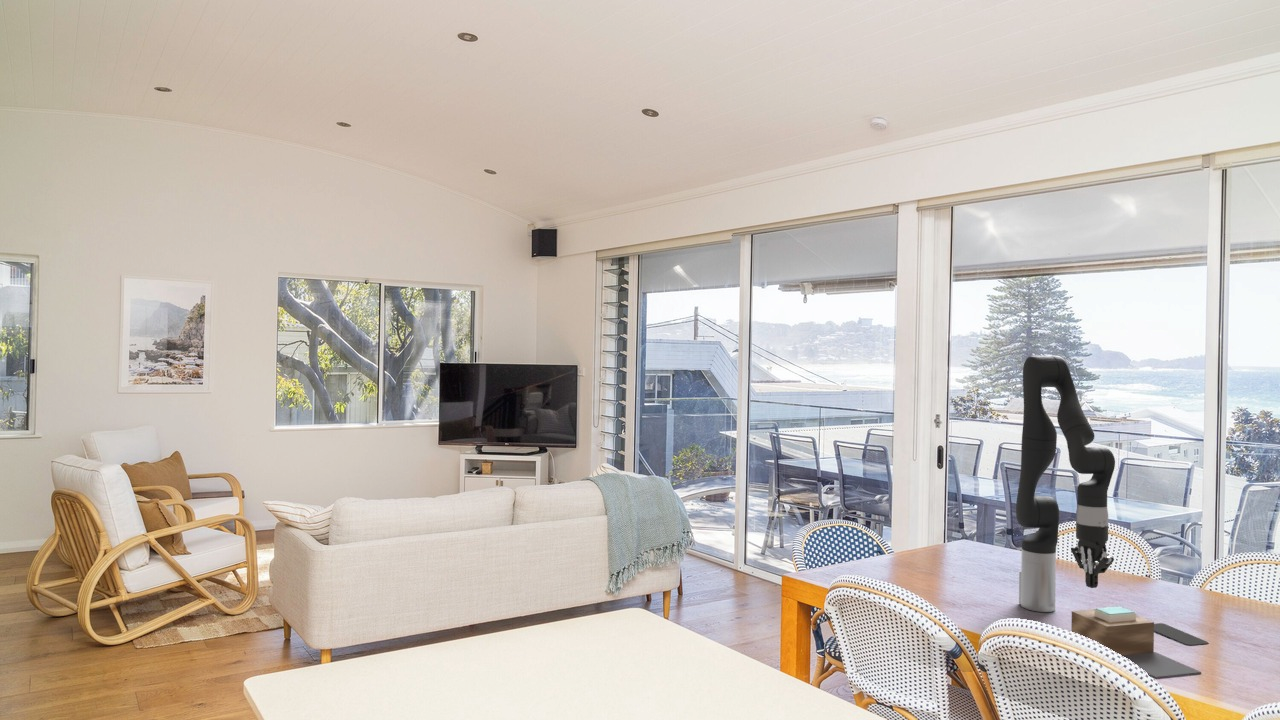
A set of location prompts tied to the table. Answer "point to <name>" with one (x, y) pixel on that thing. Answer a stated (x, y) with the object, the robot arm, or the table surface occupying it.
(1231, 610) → the table surface
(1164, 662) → the rubber mat
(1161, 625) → the smartphone
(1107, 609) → the card box
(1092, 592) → the table surface
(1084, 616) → the brown wooden block
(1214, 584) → the table surface
